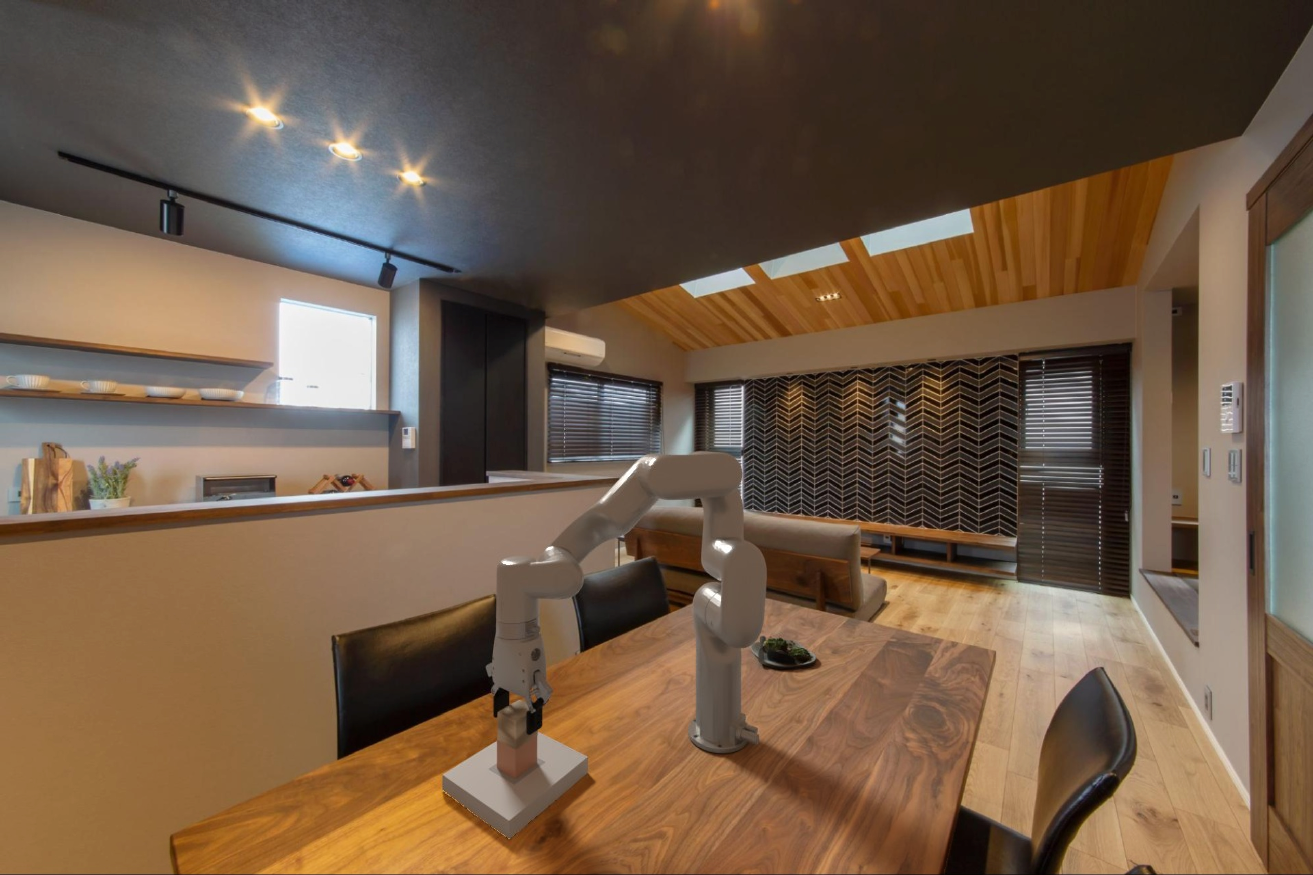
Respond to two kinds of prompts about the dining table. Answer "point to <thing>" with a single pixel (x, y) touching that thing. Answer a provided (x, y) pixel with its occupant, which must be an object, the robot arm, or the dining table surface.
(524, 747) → the terracotta cube
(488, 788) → the grey base
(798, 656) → the salad plate
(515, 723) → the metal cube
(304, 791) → the dining table surface
